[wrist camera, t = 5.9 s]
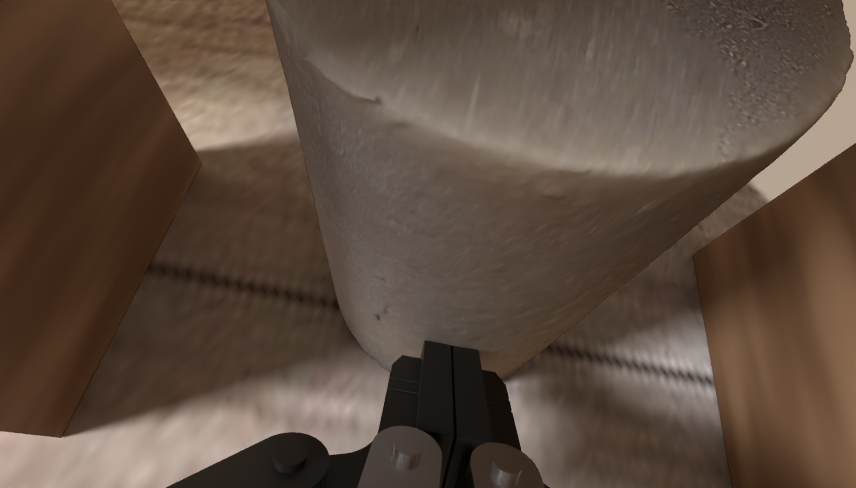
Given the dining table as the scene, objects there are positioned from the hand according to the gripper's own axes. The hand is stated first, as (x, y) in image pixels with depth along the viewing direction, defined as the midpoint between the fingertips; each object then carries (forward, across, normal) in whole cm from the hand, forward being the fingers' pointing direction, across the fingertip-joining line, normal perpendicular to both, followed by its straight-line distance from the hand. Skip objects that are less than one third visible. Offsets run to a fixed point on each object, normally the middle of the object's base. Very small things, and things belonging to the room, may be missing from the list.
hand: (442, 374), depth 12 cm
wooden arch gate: (+6, 0, +2) cm, 6 cm away
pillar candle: (+8, 0, 0) cm, 8 cm away
